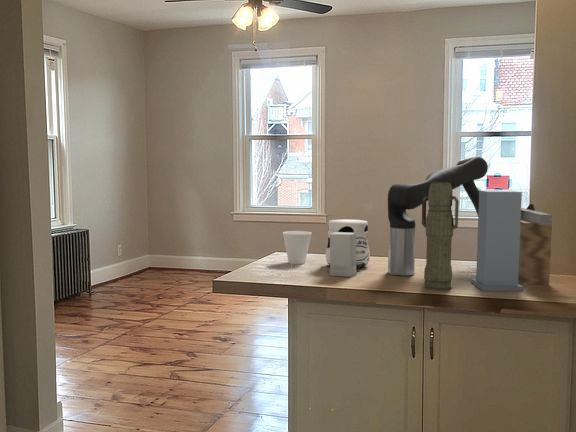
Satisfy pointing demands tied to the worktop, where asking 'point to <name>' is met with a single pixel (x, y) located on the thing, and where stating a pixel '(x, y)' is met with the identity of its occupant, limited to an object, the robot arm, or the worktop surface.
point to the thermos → (439, 235)
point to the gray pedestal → (498, 241)
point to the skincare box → (343, 254)
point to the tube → (536, 217)
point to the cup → (297, 245)
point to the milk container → (361, 238)
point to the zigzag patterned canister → (534, 253)
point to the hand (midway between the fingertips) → (523, 205)
